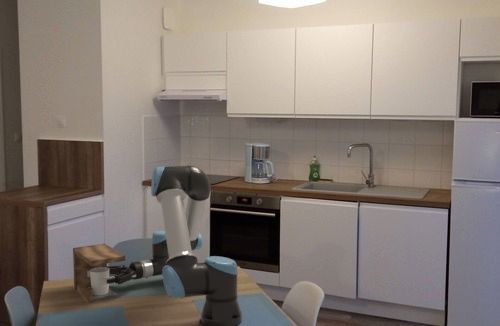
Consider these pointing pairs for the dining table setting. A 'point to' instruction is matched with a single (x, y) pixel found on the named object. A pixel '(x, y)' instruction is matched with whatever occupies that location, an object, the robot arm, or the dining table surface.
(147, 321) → the dining table surface
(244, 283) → the dining table surface
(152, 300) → the dining table surface
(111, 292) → the felt pad
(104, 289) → the white cup
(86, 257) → the walnut shelf
